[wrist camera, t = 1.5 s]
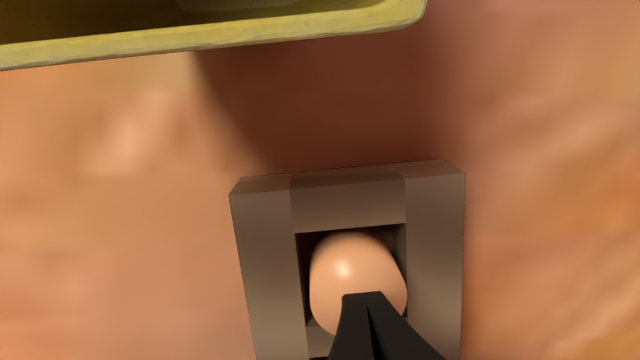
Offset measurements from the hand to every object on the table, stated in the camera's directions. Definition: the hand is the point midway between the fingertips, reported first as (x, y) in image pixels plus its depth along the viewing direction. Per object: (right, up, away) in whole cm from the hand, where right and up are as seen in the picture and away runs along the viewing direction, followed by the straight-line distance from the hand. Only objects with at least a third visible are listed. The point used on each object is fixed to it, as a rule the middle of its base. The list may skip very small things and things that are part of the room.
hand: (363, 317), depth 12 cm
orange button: (0, +1, +3) cm, 4 cm away
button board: (0, -4, +7) cm, 8 cm away
